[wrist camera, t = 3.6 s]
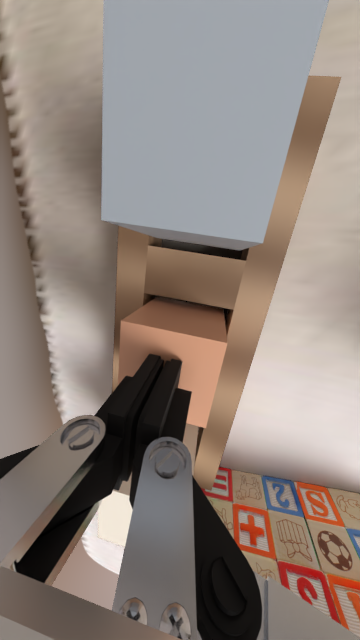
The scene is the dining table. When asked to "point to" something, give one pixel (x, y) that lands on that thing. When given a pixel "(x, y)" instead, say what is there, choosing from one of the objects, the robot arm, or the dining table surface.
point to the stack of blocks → (296, 537)
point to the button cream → (117, 505)
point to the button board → (227, 277)
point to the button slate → (201, 113)
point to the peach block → (178, 347)
